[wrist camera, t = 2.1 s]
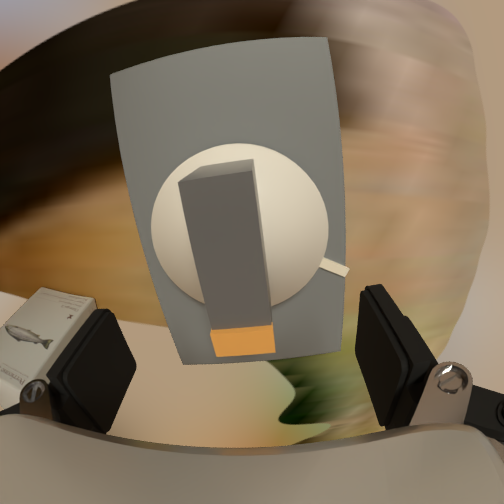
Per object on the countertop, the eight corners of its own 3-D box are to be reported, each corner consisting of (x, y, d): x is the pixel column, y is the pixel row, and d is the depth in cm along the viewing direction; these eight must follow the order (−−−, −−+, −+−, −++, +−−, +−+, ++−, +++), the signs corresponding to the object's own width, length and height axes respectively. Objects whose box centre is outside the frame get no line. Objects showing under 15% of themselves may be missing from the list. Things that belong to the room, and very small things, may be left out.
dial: (141, 160, 16) (87, 179, 10) (317, 134, 16) (353, 138, 10) (178, 307, 21) (154, 369, 15) (325, 292, 20) (348, 355, 14)
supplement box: (96, 295, 23) (25, 394, 12) (109, 352, 26) (63, 446, 15) (40, 283, 23) (-32, 360, 12) (57, 337, 26) (5, 415, 15)
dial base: (122, 78, 16) (108, 74, 14) (323, 45, 15) (331, 36, 13) (187, 349, 26) (182, 366, 24) (338, 335, 25) (344, 351, 23)
